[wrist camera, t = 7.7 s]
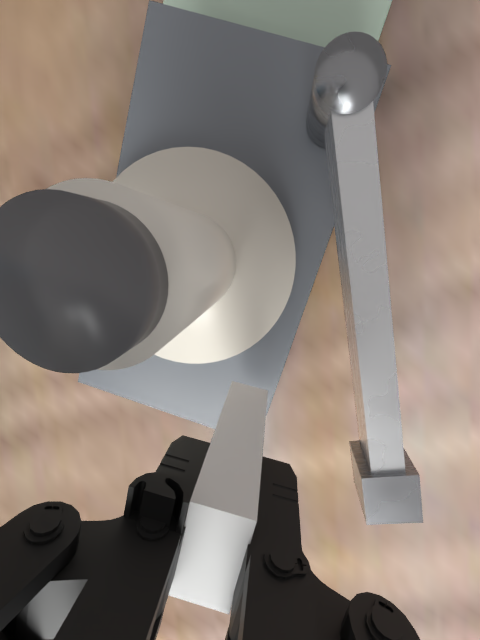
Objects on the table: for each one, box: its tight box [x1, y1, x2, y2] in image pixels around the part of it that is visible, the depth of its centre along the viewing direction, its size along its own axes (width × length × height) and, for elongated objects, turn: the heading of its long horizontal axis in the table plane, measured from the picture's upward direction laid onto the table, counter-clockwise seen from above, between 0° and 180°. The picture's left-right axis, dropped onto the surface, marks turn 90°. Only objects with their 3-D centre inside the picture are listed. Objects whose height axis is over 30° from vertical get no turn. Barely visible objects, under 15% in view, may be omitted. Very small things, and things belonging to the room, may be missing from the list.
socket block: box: [78, 0, 391, 429], centre depth 18 cm, size 10×18×5 cm, turn 163°
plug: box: [0, 147, 296, 373], centre depth 13 cm, size 9×9×14 cm
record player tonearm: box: [306, 32, 423, 525], centre depth 13 cm, size 2×16×4 cm, turn 10°
